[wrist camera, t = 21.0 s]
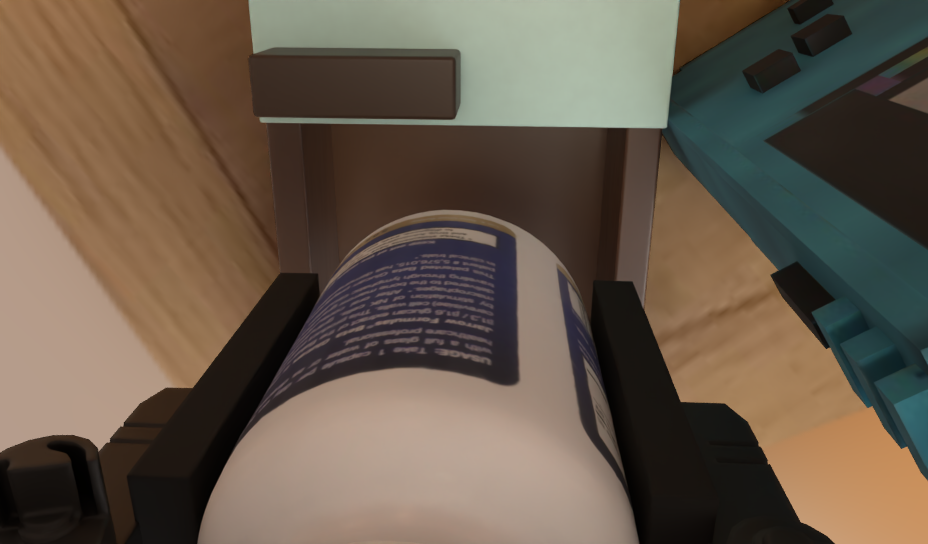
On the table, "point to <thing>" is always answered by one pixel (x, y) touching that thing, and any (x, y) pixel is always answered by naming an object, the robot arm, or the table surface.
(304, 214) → the case
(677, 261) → the table surface
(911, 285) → the handheld gaming console
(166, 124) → the table surface
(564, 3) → the pale green cover
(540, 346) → the pill bottle
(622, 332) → the robot arm
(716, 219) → the table surface
